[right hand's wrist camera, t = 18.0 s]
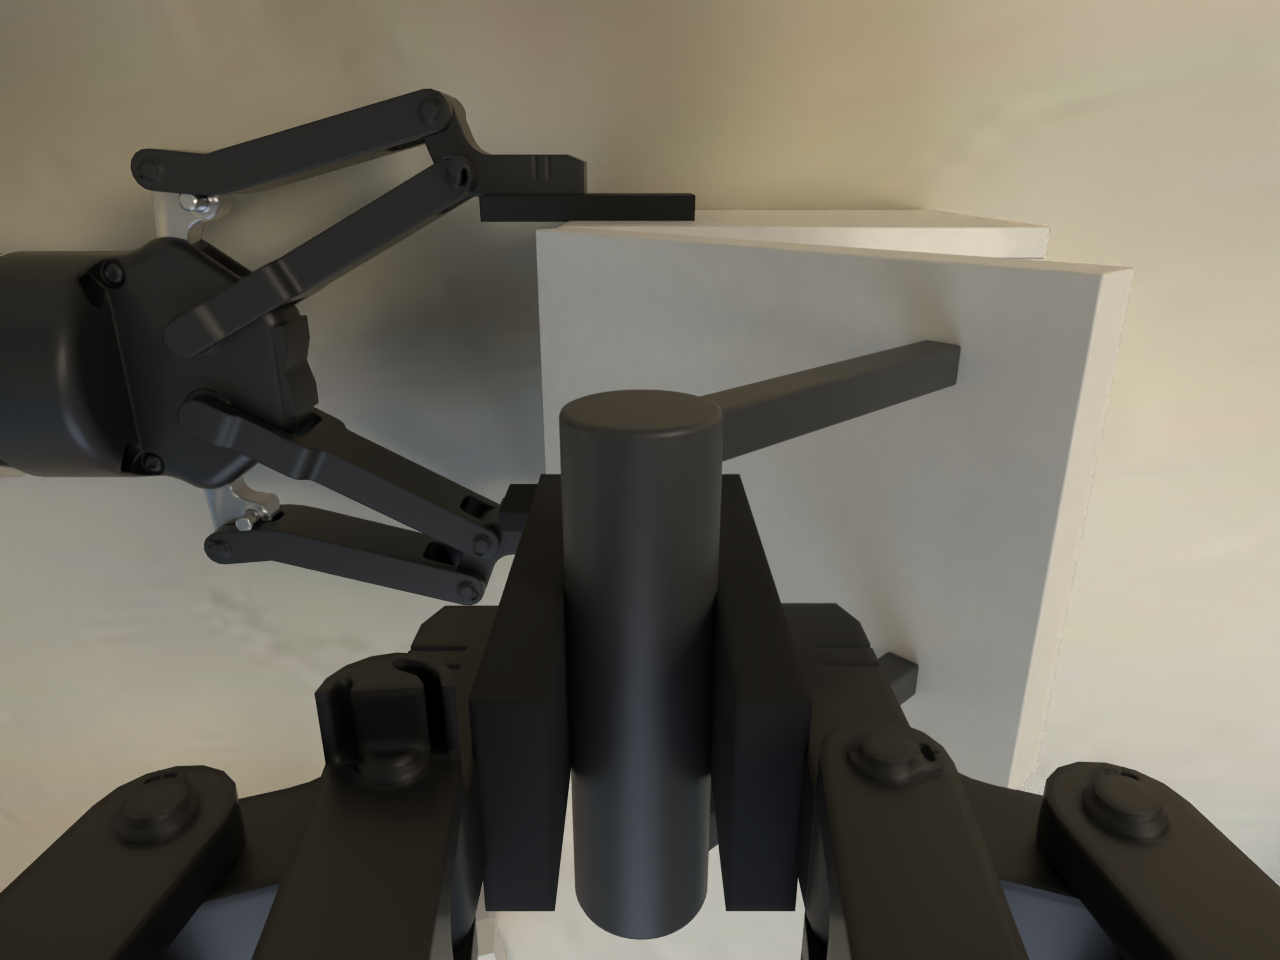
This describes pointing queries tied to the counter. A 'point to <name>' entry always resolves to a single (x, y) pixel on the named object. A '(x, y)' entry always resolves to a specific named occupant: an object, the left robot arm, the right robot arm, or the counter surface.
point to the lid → (806, 501)
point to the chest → (857, 230)
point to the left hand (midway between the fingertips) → (689, 366)
